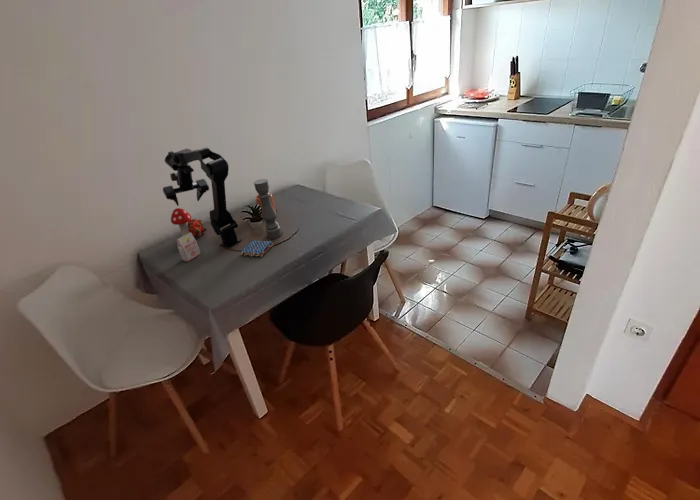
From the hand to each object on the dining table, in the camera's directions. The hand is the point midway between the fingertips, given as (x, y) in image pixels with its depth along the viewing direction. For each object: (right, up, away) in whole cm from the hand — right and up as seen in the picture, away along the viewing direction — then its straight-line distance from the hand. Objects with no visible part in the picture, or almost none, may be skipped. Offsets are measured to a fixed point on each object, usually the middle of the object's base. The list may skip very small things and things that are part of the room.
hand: (187, 202), depth 192 cm
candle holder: (+42, -15, -10) cm, 46 cm away
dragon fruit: (+4, -15, +1) cm, 16 cm away
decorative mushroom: (0, -10, -5) cm, 11 cm away
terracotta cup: (+34, -3, +13) cm, 37 cm away
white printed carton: (+8, -25, -17) cm, 31 cm away
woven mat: (+37, -22, -20) cm, 47 cm away
